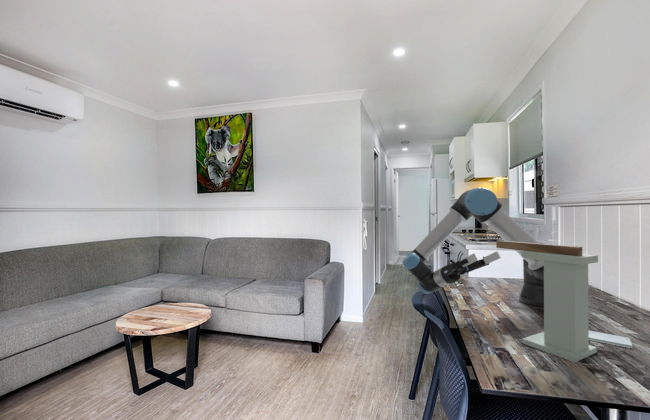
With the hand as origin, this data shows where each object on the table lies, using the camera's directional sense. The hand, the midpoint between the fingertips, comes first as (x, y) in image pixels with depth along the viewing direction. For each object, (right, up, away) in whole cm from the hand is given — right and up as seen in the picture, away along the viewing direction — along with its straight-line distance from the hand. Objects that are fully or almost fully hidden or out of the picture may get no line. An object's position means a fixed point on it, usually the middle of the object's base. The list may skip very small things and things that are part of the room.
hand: (487, 255), depth 115 cm
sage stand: (+11, -25, -21) cm, 34 cm away
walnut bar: (+7, +4, -15) cm, 17 cm away
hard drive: (+31, -26, -14) cm, 43 cm away
